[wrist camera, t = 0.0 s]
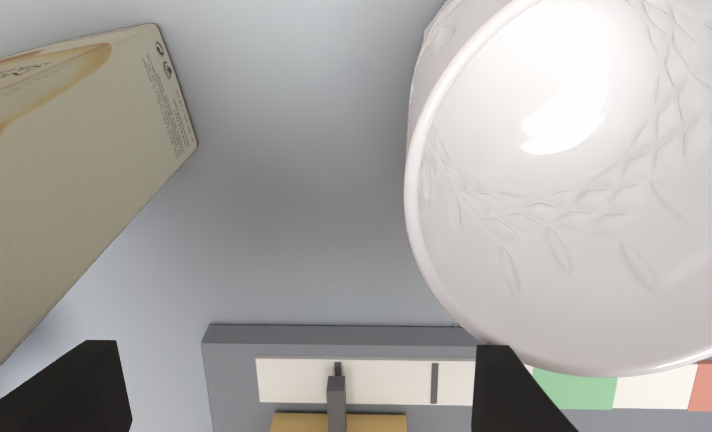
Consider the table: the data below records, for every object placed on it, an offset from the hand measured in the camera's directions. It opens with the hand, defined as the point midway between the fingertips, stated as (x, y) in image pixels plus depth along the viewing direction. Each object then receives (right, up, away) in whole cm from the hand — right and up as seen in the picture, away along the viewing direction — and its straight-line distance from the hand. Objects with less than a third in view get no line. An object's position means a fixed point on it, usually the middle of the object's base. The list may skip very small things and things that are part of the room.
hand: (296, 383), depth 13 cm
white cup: (+6, +8, +7) cm, 13 cm away
